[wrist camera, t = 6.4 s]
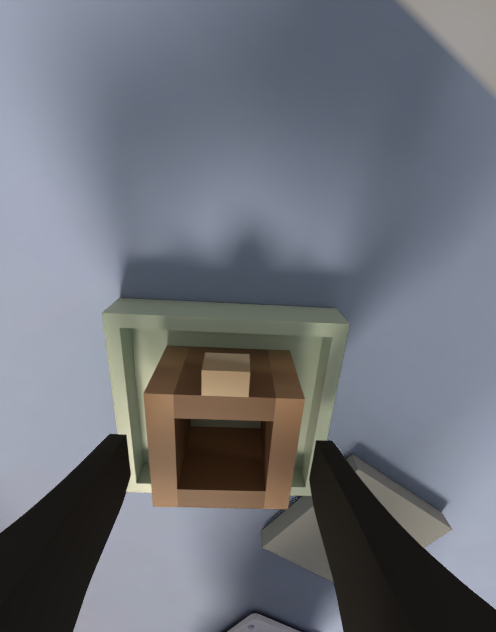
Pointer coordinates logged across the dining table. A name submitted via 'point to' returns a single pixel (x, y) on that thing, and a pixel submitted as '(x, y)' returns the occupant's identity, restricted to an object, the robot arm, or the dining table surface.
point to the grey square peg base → (304, 535)
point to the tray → (224, 332)
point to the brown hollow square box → (223, 442)
